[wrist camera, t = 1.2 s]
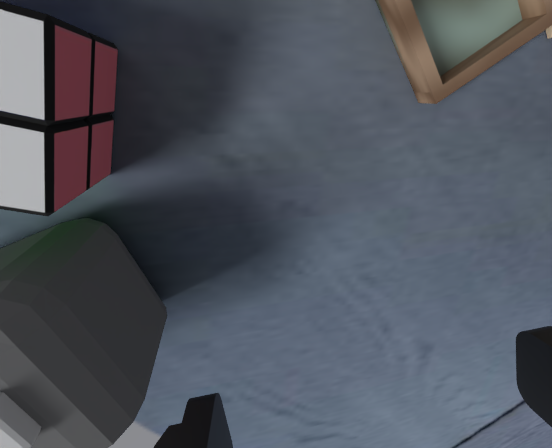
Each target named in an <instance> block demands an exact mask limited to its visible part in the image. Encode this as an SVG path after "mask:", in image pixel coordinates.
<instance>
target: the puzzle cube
mask: <svg viewBox="0 0 552 448" xmlns="http://www.w3.org/2000/svg"><path fill="white" fill-rule="evenodd" d="M117 57H118V49H117V48H116V46H115V45H114V44H113V43H111V42H109V41H107V40H104V39H102V38H100V37H97V36H95V35H93V34H91V33H87V32H86V31H84V30H81V29H79V28H77V27H75V26H72V25H70V24H68V23H65V22H63V21H61V20H59V19H56V18H54V17H52V16H50V15H47V14H43V13H40V12H36V11H33V10H29V9H25V8H22V7H18V6H14V5H11V4H7V3H4V2H0V209H4V210H11V211H17V212H24V213H30V214H36V215H43V216H49V215H51V214H52V213H54V212H55V211H57V210H58V209H60V208H61V207H63V206H64V205H66V204H67V203H68V202H70V201H71V200H73V199H74V198H76V197H77V196H79V195H80V194H82V193H83V192H85V191H86V190H88V189H89V188H91V187H92V186H93V185H95V184H96V183H98V182H99V181H101V180H102V179H104V178H105V177H106V176H108V175H109V174H111V158H112V142H113V125H114V119H113V118H112V117H111V116H110V114H111V113H113V112H114V108H115V91H116V74H117Z"/></svg>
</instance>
